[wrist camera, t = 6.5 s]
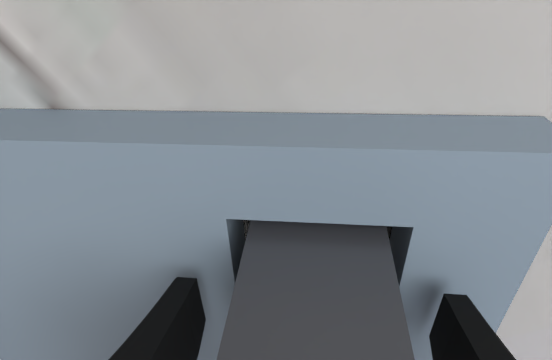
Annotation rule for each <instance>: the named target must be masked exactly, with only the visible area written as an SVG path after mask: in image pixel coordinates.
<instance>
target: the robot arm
mask: <svg viewBox="0 0 552 360" xmlns="http://www.w3.org/2000/svg"><path fill="white" fill-rule="evenodd" d="M205 322H206V318H205V313H204V309H203V304H202V300H201V295H200V291H199V286H198V282H197V278H187V277H177V278H175V279H174V280H173V282H172V283H171V284H170V286H169V287H168V288H167V290H166V291H165V292H164V294H163V295H162V296H161V298H160V299H159V300H158V301H157V303H156V304H155V305H154V307H153V308H152V309H151V310H150V312H149V313H148V314H147V315H146V317H145V318H144V319H143V320H142V321H141V323H140V324H139V325H138V326H137V327H136V329H135V330H134V331H133V332H132V333H131V335H130V336H129V337H128V338H127V339H126V340H125V342H124V343H123V344H122V345H121V346H120V347H119V348H118V349H117V351H116V352H115V353H114V354H113V355H112V356H111V357H110V358H109V359H108V360H197V358H198V354H199V350H200V346H201V341H202V337H203V332H204V327H205ZM429 339H430V345H431V352H432V358H433V360H516V359H515V358H514V357H513V355H512V354H511V353H510V352H509V350H508V349H507V348H506V346H505V345H504V344H503V343H502V341H501V340H500V339H499V337H498V336H497V335H496V333H495V332H494V331H493V329H492V328H491V327H490V325H489V324H488V323H487V321H486V320H485V319H484V317H483V316H482V315H481V313H480V312H479V310H478V309H477V308H476V306H475V305H474V304H473V302H472V301H471V300H470V298H469V297H468V296H467V295H461V294H445V293H444V294H443V297H442V300H441V303H440V306H439V309H438V312H437V314H436V317H435V320H434V323H433V326H432V329H431V332H430V335H429Z"/></svg>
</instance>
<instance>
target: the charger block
mask: <svg viewBox="0 0 552 360" xmlns="http://www.w3.org/2000/svg"><path fill="white" fill-rule="evenodd" d="M217 360H415V359H414V354H413V349H412V345H411V340H410V335H409V330H408V326H407V321H406V316H405V312H404V307H403V302H402V298H401V293H400V288H399V284H398V279H397V274H396V269H395V265H394V260H393V255H392V251H391V246H390V241H389V237H388V232H387V227H386V226H374V225H352V224H329V223H306V222H284V221H261V220H250V224H249V228H248V233H247V237H246V241H245V245H244V249H243V253H242V257H241V261H240V265H239V269H238V274H237V278H236V282H235V286H234V290H233V294H232V298H231V302H230V306H229V310H228V315H227V319H226V323H225V327H224V331H223V335H222V339H221V343H220V347H219V351H218V356H217Z"/></svg>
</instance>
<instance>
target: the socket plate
mask: <svg viewBox="0 0 552 360" xmlns="http://www.w3.org/2000/svg"><path fill="white" fill-rule="evenodd" d="M243 220H261V221H284V222H306V223H329V224H352V225H374V226H393V227H392V232H391V237H390V246H391V251H392V255H393V260H394V265H395V269H396V274H397V279H398V284H399V288H400V293H401V298H402V302H403V307H404V312H405V316H406V321H407V326H408V330H409V335H410V340H411V345H412V349H413V354H414V359H415V360H433V358H432V352H431V345H430V339H429V335H430V332H431V329H432V326H433V323H434V320H435V317H436V314H437V312H438V309H439V306H440V303H441V300H442V297H443V294H444V293H445V294H461V295H467V296H468V297H469V298H470V300H471V301H472V302H473V304H474V305H475V306H476V308H477V309H478V310H479V312H480V313H481V315H482V316H483V317H484V319H485V320H486V321H487V323H488V324H489V325H490V327H491V328H492V329H493V331H494V332H495V333H496V331H497V329H498V327H499V325H500V323H501V322H502V320H503V318H504V316H505V314H506V312H507V310H508V308H509V306H510V304H511V302H512V300H513V298H514V296H515V294H516V293H517V291H518V289H519V287H520V285H521V283H522V281H523V279H524V277H525V275H526V273H527V271H528V269H529V267H530V265H531V264H532V262H533V260H534V258H535V256H536V254H537V252H538V250H539V248H540V246H541V244H542V242H543V240H544V238H545V237H546V235H547V233H548V231H549V229H550V227H551V225H552V123H551V122H550V121H549V120H548V119H547V118H545V117H540V116H470V115H401V114H331V113H261V112H192V111H122V110H52V109H0V359H1V360H108V359H109V358H110V357H111V356H112V355H113V354H114V353H115V352H116V351H117V349H118V348H119V347H120V346H121V345H122V344H123V343H124V342H125V340H126V339H127V338H128V337H129V336H130V335H131V333H132V332H133V331H134V330H135V329H136V327H137V326H138V325H139V324H140V323H141V321H142V320H143V319H144V318H145V317H146V315H147V314H148V313H149V312H150V310H151V309H152V308H153V307H154V305H155V304H156V303H157V301H158V300H159V299H160V298H161V296H162V295H163V294H164V292H165V291H166V290H167V288H168V287H169V286H170V284H171V283H172V282H173V280H174V279H175V278H177V277H187V278H197V282H198V286H199V291H200V295H201V300H202V304H203V309H204V313H205V318H206V322H205V327H204V332H203V337H202V341H201V346H200V350H199V354H198V358H197V360H217V356H218V351H219V347H220V343H221V339H222V335H223V331H224V327H225V323H226V319H227V315H228V310H229V306H230V302H231V298H232V294H233V290H234V286H235V282H236V278H237V274H238V269H239V265H240V261H241V257H242V253H243V249H244V245H245V234H244V224H243Z"/></svg>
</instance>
